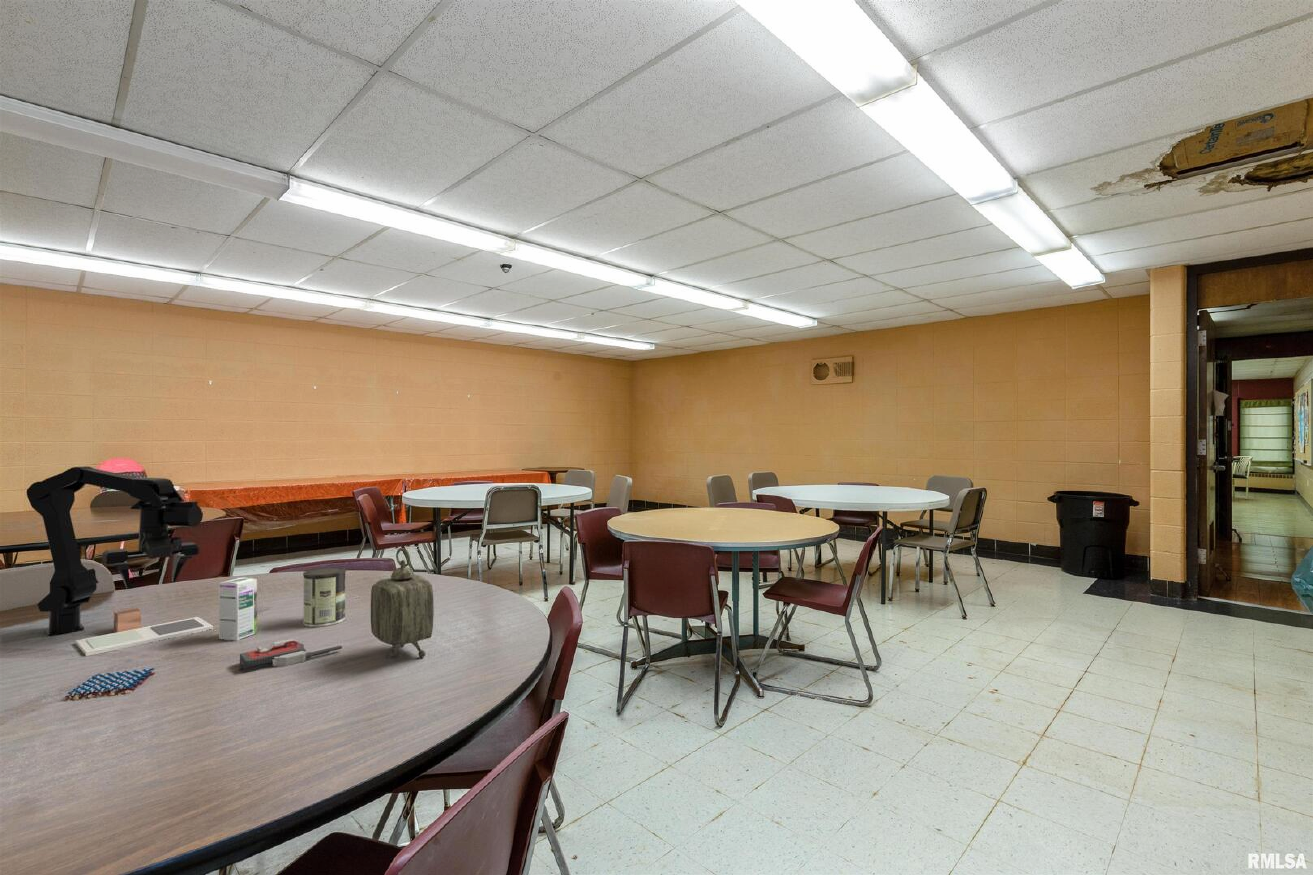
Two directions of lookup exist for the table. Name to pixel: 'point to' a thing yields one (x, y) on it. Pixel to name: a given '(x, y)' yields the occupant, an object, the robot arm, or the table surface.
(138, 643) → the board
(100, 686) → the woven mat
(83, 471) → the robot arm
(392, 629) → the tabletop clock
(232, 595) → the syrup box
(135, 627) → the terracotta block
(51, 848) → the table surface
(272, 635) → the table surface
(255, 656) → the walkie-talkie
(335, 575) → the coffee can
